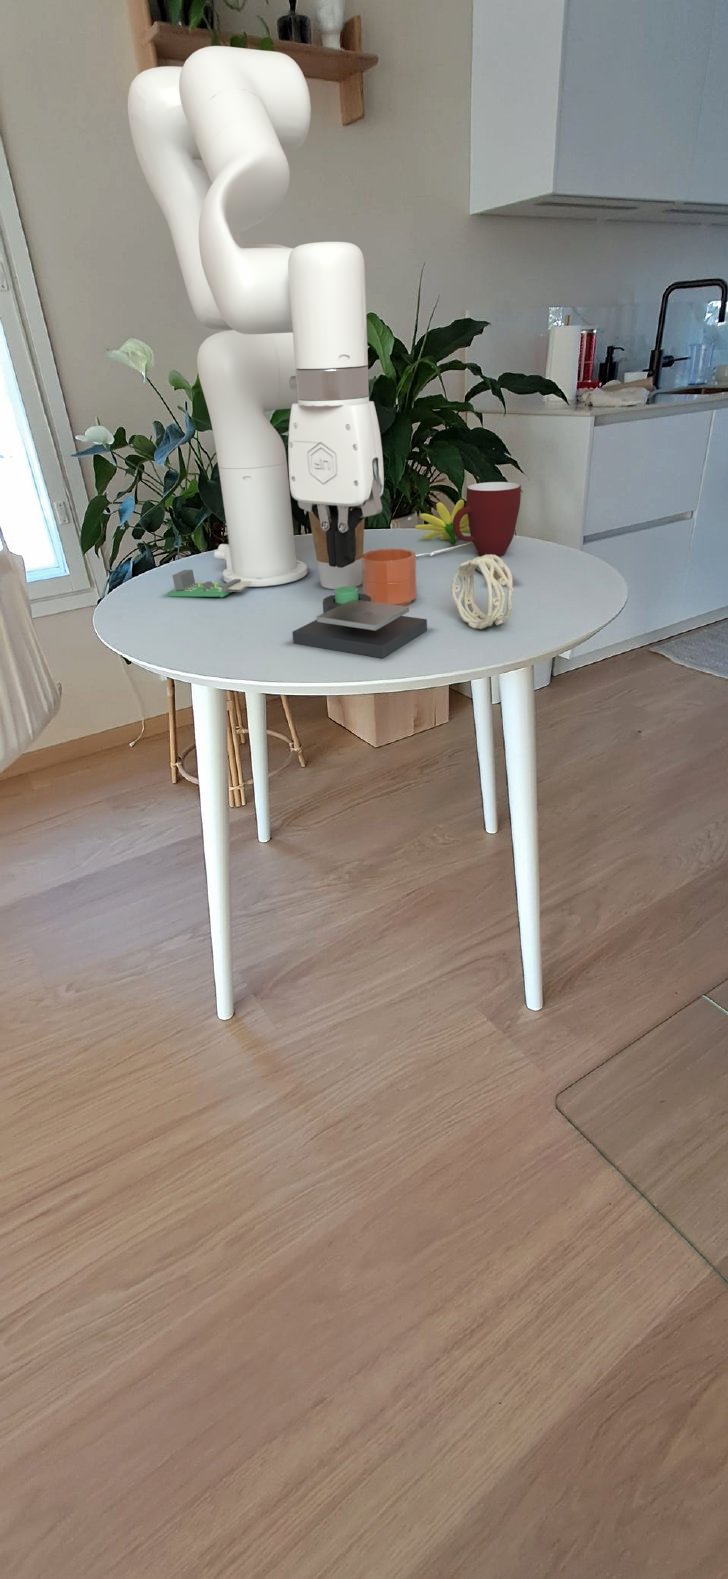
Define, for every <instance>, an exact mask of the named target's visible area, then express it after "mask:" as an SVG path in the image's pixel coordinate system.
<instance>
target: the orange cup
mask: <svg viewBox="0 0 728 1579" xmlns="http://www.w3.org/2000/svg"><path fill="white" fill-rule="evenodd" d="M416 555H417V553H416V552H415V551H413V550H410V549H405V548H382V549H375V550H371V551H367V552H365V553H363V555H362V557H361V559H362V594H366V595H368V596H370V597H371V602H377V603H384V604H392V605H400V606H408V605H410V604H411V603H412V601H413V600H416V598H417V556H416Z"/></svg>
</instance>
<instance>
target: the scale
mask: <svg viewBox="0 0 728 1579" xmlns="http://www.w3.org/2000/svg"><path fill="white" fill-rule="evenodd" d="M358 598H359V600H361V601H369V602H371V597H370V596H368V595H366V594H363V593H361V592H360V593H359V592H358ZM340 605H342V604H340V603H335V594H331V595H329V596H327V597H324V598H323V601H322V612H323V613H326V612H328V611H330V610H332V609H334V608H336V607H338V606H340ZM323 613H322V614H323ZM427 631H428V620H427V618H421V617H415V616H414V617H412V616H406V615H402V616H400V617H399V618H397V619H395V620H393V621H392V622H390V623H388V624H386V625H385V626H383V627H381V628H379V629H378V630H376V631H375V630H368V629H362V628H355V627H348V626H342V625H335V624H328V623H322V622H317V619H315V620H312V621H311V622H309V623H307V624H305V625H303V626H301V627H298V628H297V629H295V630H292V642H293V643H292V644H296V645H302V646H310V647H315V648H321V649H324V650H325V649H326V650H332V651H338V652H343V653H349V654H354V655H355V654H356V655H360V656H361V655H362V656H367V657H373V658H379V659H384V658H386V657H387V656H389V655H391V654H392V653H394V652H395V651H397V650H399V649H400V648H402V647H404V646H405V645H407V644H408V643H410V642H412V641H413V640H415V639H416V638H418V637H419V636H421V635H422V634H424V633H426V632H427Z"/></svg>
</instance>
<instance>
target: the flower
mask: <svg viewBox="0 0 728 1579" xmlns="http://www.w3.org/2000/svg"><path fill="white" fill-rule="evenodd" d="M435 506H436V510H437V513H438V514H439V517H440V518H438V517H436V516H433V515H432V514H428V513H421V514H420V515H419V518H420V519H422V520H423V521H425V522H427V524H417V525H415V526H414V529H417V530H420V531H421V530H422V531H431V532H428V533H426V534H425V535H423V536H422V539H424V540H429V539H432V538H435V537H436V538H437V537H439V536H440V538H439V541H440V540H441V541H447V540H448V541H449V540H450V543H451V545H452V546H454V545H456V540H460V539H459V538H458V537H456V535H455V534H454V532H453V519H454V516H455V514H456V513H457V511H458V510H459V509H461V508H463V507H465V500H464V499H459V500H458V501H457V502H456V504H455V506H454V507H453V510H452V512H451V513H450V512H449V510H448V509H447V507H446V506H445V505H444V504H443V503H442V502H437V503H436V505H435ZM460 532H461V534H462V535H463V536H465V535H464V534H469V535H470V528H469V521H468V515H467V514H465V515H464V516H463V517H462V519H461V521H460Z"/></svg>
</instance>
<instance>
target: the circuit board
mask: <svg viewBox="0 0 728 1579" xmlns="http://www.w3.org/2000/svg"><path fill="white" fill-rule="evenodd" d="M171 577H172V581H173V586H174V589H172V590H170V591H168V592H166V595H167V597H217V598H218V597H219V598H221V599H222V598H224V597H226V596H228V595H230V594H231V593H233V592H236V591H244V590H245V589H246V588H251V587H250V586H247V585H249V584H250V583H252V581H241V579H234V580H233V581H230V582H229V583H226V582H224V583H222V582H220V583H219V582H215V583H214V582H212V581H208V580H207V581H205V582H199V583H198V582H197V583H196V581H195V575H194V571H193V569H183V570H181V571H179V572H177V573H174V574H172V575H171Z"/></svg>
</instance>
